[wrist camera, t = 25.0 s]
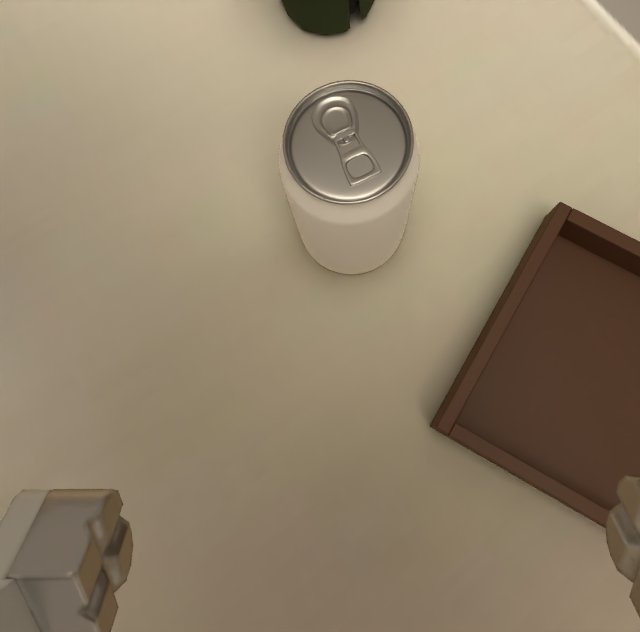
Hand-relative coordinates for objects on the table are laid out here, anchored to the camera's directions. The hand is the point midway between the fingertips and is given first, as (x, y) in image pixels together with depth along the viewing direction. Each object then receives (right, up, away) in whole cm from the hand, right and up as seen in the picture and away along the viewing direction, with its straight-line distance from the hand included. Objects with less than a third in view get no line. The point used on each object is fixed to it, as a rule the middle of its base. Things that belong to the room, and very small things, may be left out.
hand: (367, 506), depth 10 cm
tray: (+17, -1, +25) cm, 30 cm away
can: (+1, +9, +28) cm, 29 cm away
